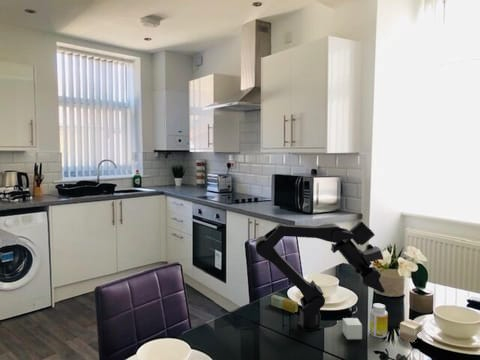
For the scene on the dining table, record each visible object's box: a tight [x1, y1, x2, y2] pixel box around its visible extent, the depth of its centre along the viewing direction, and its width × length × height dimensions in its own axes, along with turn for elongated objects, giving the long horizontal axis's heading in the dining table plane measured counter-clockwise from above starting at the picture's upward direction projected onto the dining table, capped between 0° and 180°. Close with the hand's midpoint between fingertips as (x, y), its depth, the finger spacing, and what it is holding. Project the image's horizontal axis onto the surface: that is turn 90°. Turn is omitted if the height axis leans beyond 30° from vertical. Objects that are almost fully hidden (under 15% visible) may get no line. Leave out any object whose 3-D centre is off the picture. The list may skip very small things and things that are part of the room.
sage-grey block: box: [342, 317, 363, 340], centre depth 126 cm, size 5×5×5 cm
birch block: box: [399, 318, 423, 343], centre depth 124 cm, size 5×5×5 cm
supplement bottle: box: [369, 302, 389, 339], centre depth 126 cm, size 6×6×10 cm
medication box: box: [270, 294, 299, 314], centre depth 148 cm, size 12×3×4 cm, turn 48°
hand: (379, 286), depth 131 cm, fingers open, 9 cm apart
